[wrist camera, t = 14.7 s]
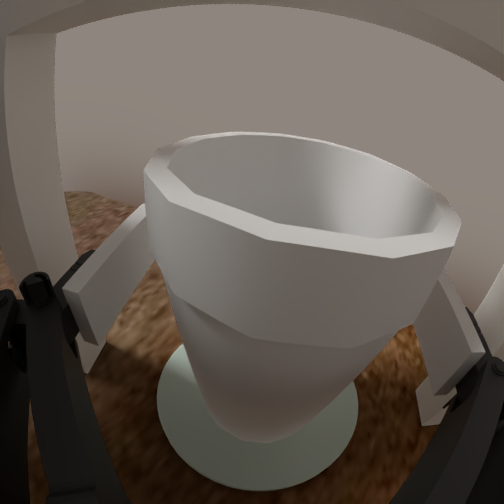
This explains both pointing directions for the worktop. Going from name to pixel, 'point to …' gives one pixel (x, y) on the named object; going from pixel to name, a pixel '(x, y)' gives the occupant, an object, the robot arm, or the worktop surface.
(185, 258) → the foam cup
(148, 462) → the worktop surface
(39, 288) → the robot arm
